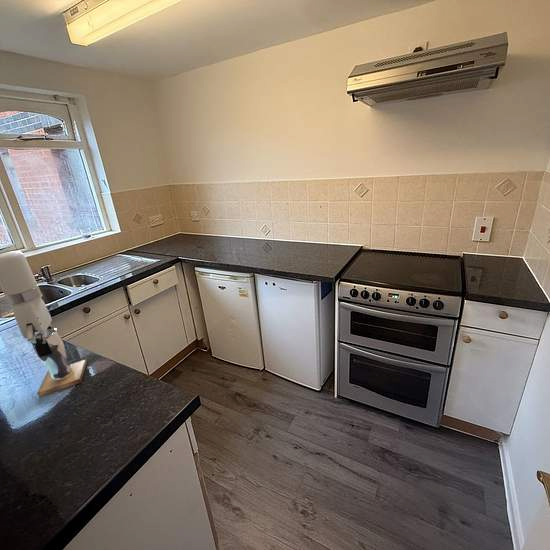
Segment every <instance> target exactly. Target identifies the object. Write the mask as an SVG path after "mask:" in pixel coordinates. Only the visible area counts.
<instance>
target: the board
mask: <svg viewBox="0 0 550 550" xmlns="http://www.w3.org/2000/svg"><path fill="white" fill-rule="evenodd" d="M69 364H70V365H71V367H72V368H73V369H74V371H73V373H72V374H71V375H70V376H69V377H67V378H65V379H63V380H61V381H56V382H54V381H52V380H51V377H50V373H49V370H47V372H46V373H45V376H44V378H43V380H42V382H41V384H40V386H39V388H38V390H37V393H36V394H37V395H38V397H42V396H45V395H48V394H52V393H55V392H57V391H60V390H64V389H66V388H69V387H73V386H76V385H79V384H81V383H82V381H83V378H84V374H85V371H86V367H87V360H86V359H83V360H79V361H76V362H73V363H69Z"/></svg>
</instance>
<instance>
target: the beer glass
mask: <svg viewBox="0 0 550 550" xmlns="http://www.w3.org/2000/svg"><path fill="white" fill-rule="evenodd" d="M38 333H40V332H35V334H38ZM44 337H45V341H46V342H48V344H49V346H50V348H51V350H52V354H50V355H46V356H43V357H39V355H38V353H37V351H36V349H35V347H34V346H33V345H32V344H31V346H32V348H33V351H34V353H35V354H36V356H37V358H38V359H39V360H40V361H41V363H42V364H43V365H44V366H45V368H46V369H47V371H49V373H50V377H51V380H52V381H54V382H56V381H61V380H63V379H65V378H67V377H69V376H70V375H71V374H72V373H73V371H74V369H73V368H72V367H71V365H70V364H71V363H70V362H69V360H68V356H67V352H66V348H65V344H64V341H63V339H62V337H61V336H60V334H59V332H58V330H57V328H55V327H54V328H52V329H47V330H46V331H45V332H44ZM36 338H39V339H41V337H40V336H37V337H36Z"/></svg>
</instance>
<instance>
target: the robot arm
mask: <svg viewBox="0 0 550 550" xmlns="http://www.w3.org/2000/svg"><path fill="white" fill-rule="evenodd" d="M0 289H1V291H2V293H3V295H4V297H5V298H6V300H7V303H8V304H9V306H10V307H11V310H12V313H13V316H14V319H15V322H16V324H17V326H18V328H19V331H20V333H21V335H22V337H23V338H24V339H27V341H28V342H29V343H30V344H31V346H32V345H33V346H34V347H35V349H36V351H37V353H38V355H39V357H43V356H46V355H50V354H52V350H51V348H50V346H49V344H48V342H46V341H45V337H44V332H45V331H46V330H47V329H52V328H54V329H55V327H54V325H53V324H52V321H53V320H52V316H51V313H50V312H49V309H48V307H47V304H46V303H45V301H44V300H43V298H42V297H43V293H42V291H41V288H40V287H39V284H38V282H37V280H36V278H35V275H34V273H33V271H32V269H31V266H30V265H29V263H28V260H27V258H26V256H25V254H24V253H23V252H21V251H19V250H18V251H17V250H13V251H6V252H3V253H0ZM38 332H40V333H38ZM36 333H38V334H36ZM37 336H40V337H41V339H39V338H36V337H37ZM33 346H32V347H33Z"/></svg>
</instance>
